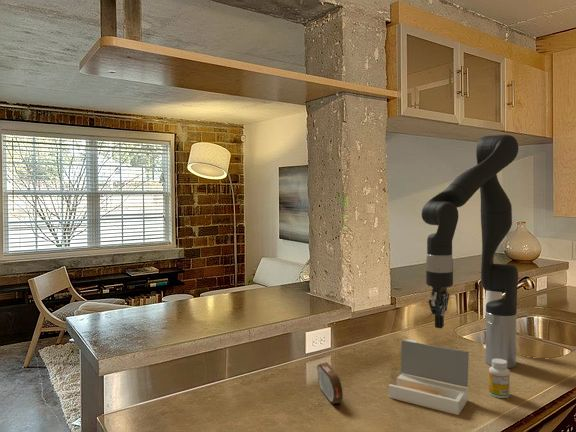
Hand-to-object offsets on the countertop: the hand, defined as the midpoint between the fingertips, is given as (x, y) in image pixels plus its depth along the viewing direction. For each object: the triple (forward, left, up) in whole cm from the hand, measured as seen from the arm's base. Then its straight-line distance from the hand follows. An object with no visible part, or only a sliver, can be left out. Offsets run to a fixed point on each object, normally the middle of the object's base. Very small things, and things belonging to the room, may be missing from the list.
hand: (439, 327), depth 137 cm
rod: (+12, -2, -18) cm, 21 cm away
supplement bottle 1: (-10, -12, -18) cm, 24 cm away
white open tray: (+10, 0, -18) cm, 20 cm away
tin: (+24, -24, -18) cm, 38 cm away
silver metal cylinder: (-43, +7, -18) cm, 47 cm away
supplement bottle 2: (-3, +16, -18) cm, 24 cm away
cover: (+6, 0, -9) cm, 11 cm away
